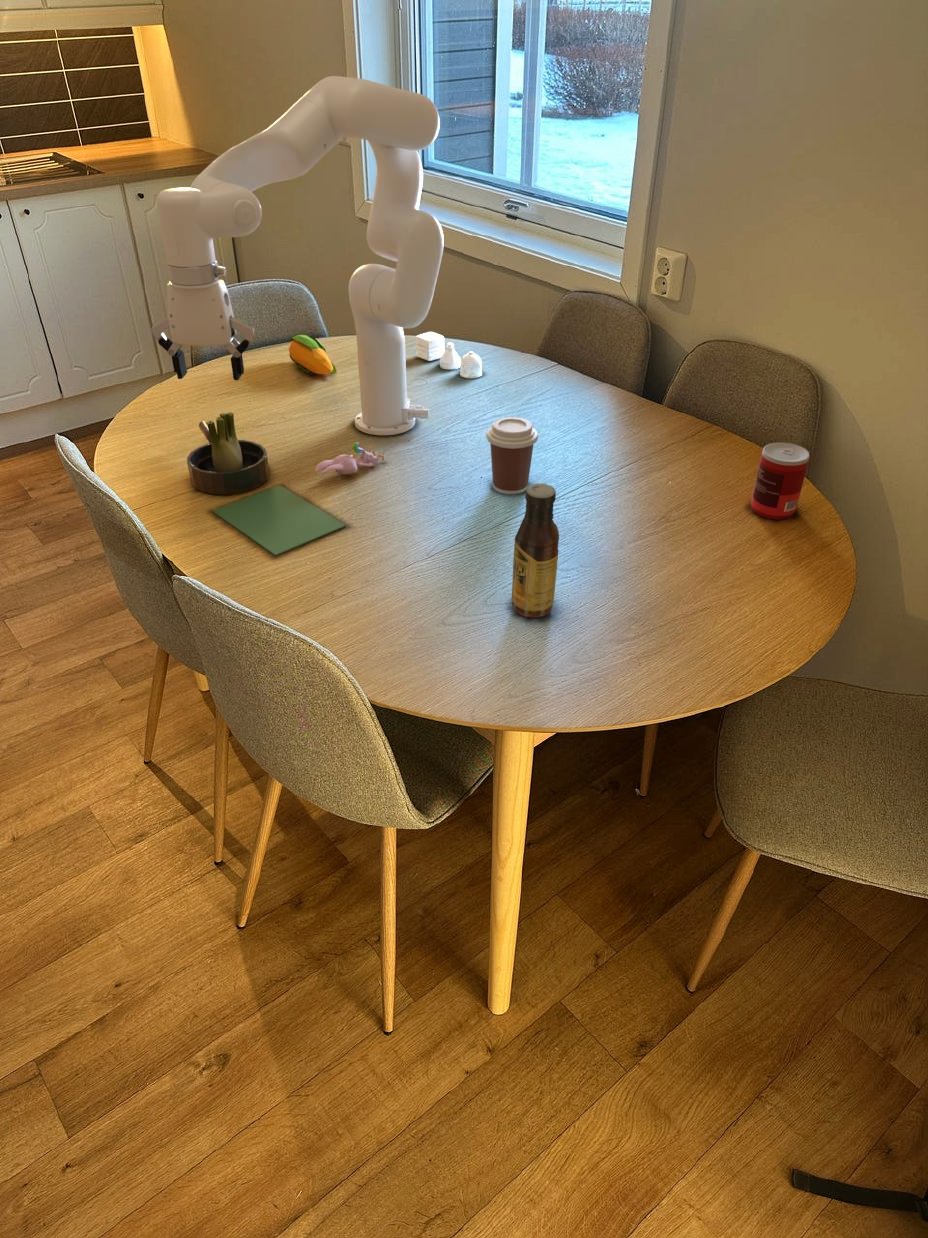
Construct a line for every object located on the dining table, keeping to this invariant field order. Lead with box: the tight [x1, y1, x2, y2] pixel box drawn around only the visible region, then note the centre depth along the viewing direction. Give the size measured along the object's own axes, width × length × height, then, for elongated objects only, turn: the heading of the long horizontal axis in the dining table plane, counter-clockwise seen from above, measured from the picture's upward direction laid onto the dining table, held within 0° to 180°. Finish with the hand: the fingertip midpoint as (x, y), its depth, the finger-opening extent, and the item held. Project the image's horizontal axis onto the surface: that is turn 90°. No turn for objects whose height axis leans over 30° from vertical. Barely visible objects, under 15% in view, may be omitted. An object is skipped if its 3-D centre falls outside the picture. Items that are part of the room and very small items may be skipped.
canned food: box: [750, 441, 811, 520], centre depth 150 cm, size 8×8×11 cm
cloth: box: [211, 484, 347, 557], centre depth 150 cm, size 20×14×1 cm
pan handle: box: [198, 420, 211, 444], centre depth 170 cm, size 12×2×2 cm, turn 28°
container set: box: [415, 331, 483, 379], centre depth 209 cm, size 20×5×6 cm, turn 42°
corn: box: [288, 334, 338, 375], centre depth 206 cm, size 7×8×20 cm
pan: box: [186, 439, 271, 496], centre depth 161 cm, size 14×14×4 cm
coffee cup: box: [485, 416, 539, 495], centre depth 157 cm, size 9×9×12 cm
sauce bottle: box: [511, 482, 560, 619], centre depth 123 cm, size 7×6×20 cm
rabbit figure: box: [314, 441, 386, 476], centre depth 163 cm, size 6×6×15 cm
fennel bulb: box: [207, 412, 244, 472], centre depth 159 cm, size 6×5×12 cm
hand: (210, 376), depth 151 cm, fingers open, 9 cm apart
